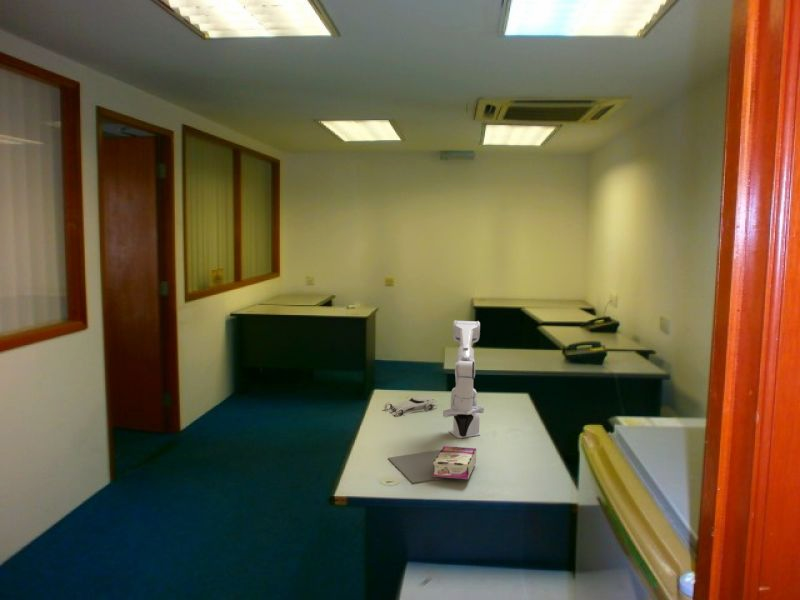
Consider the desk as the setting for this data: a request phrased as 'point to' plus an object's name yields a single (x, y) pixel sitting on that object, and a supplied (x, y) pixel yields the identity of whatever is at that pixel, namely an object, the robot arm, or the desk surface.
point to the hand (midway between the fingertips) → (462, 435)
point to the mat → (417, 466)
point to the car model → (412, 406)
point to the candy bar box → (454, 462)
